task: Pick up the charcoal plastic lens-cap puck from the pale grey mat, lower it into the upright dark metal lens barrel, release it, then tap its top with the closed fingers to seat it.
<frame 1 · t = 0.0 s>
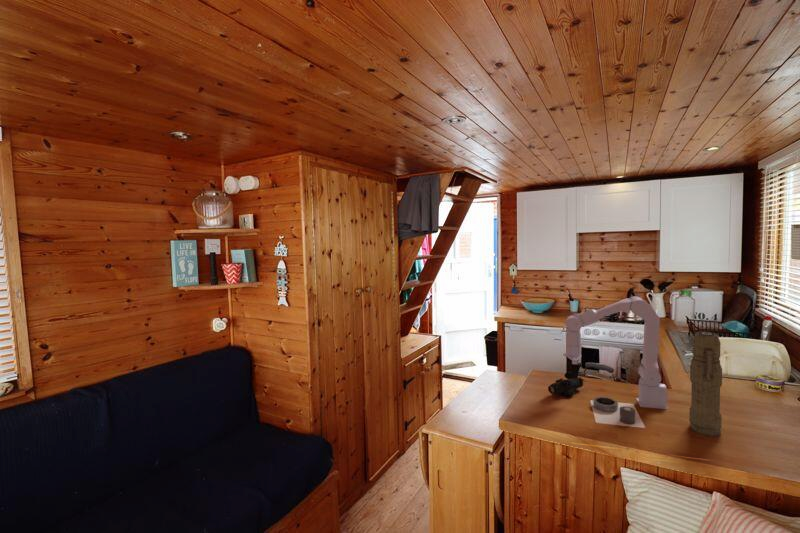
hand: (573, 375, 167), 10 cm above the counter, fingers open, 7 cm apart
cap: (627, 421, 145), resting on mat
mat: (615, 413, 152), on the counter
barrel: (605, 407, 157), resting on mat
thermos: (704, 430, 137), on the counter
night vision scope: (566, 394, 172), on the counter
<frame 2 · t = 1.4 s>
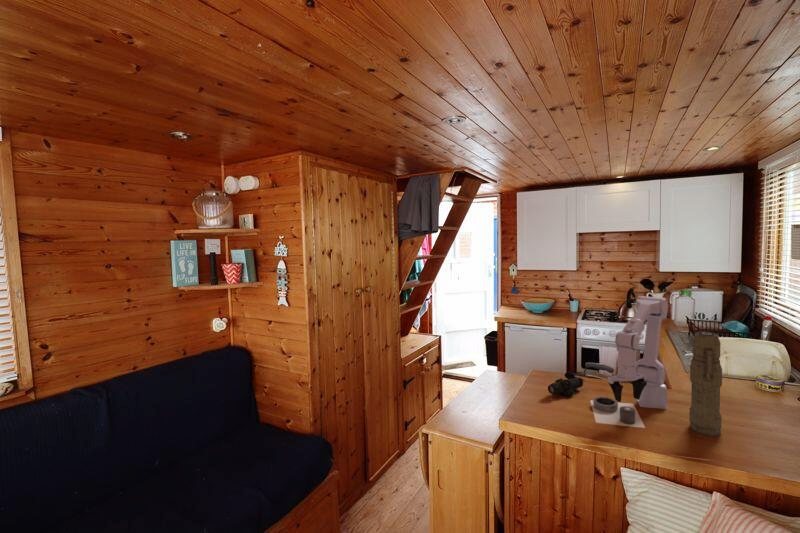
hand: (627, 399, 145), 9 cm above the counter, fingers open, 7 cm apart
nothing on the counter moved.
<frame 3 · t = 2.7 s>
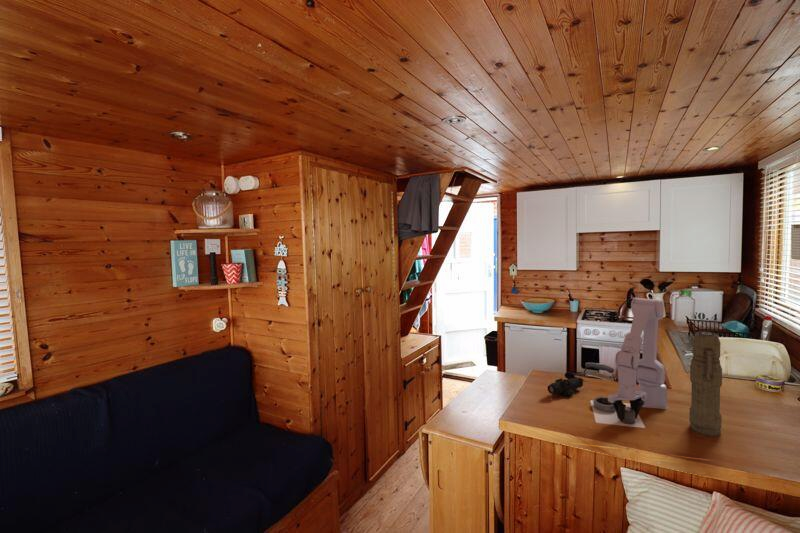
hand: (627, 418, 145), 1 cm above the counter, fingers closed on cap, 5 cm apart
cap: (627, 421, 145), resting on mat, touching gripper
everything else where it was.
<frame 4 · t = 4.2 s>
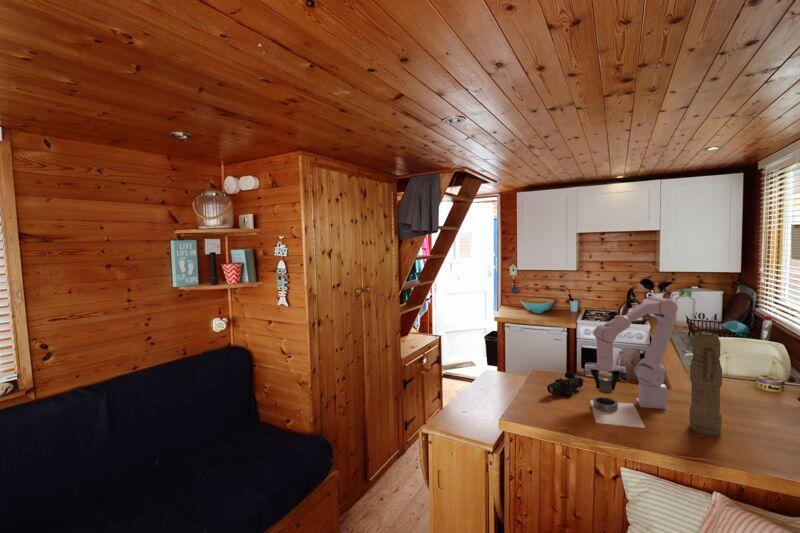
hand: (605, 388, 156), 8 cm above the counter, fingers closed on cap, 5 cm apart
cap: (605, 391, 156), point 7 cm above the counter, touching gripper
everything else where it was.
when the fingers open (3 cm above the counter, at t = 5.8 s): cap drops 1 cm, resting on barrel.
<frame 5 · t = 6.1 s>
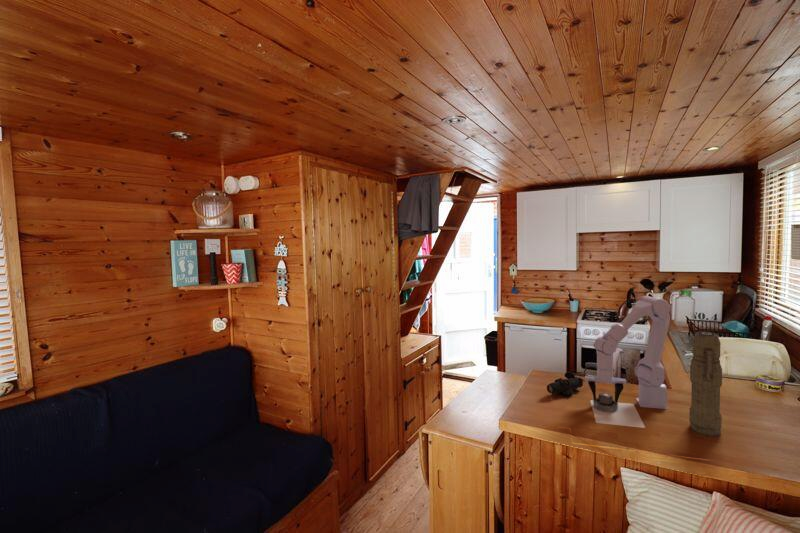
hand: (605, 400, 157), 3 cm above the counter, fingers open, 7 cm apart
cap: (605, 406, 157), point 1 cm above the counter, touching barrel
everything else where it was.
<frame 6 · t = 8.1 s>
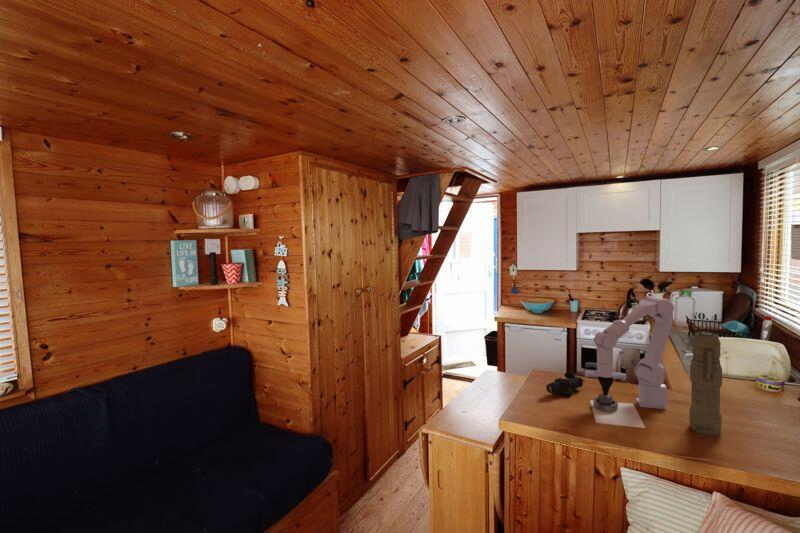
hand: (605, 395, 156), 6 cm above the counter, fingers closed, pressing on cap
cap: (605, 406, 157), point 1 cm above the counter, touching barrel, gripper
everything else where it was.
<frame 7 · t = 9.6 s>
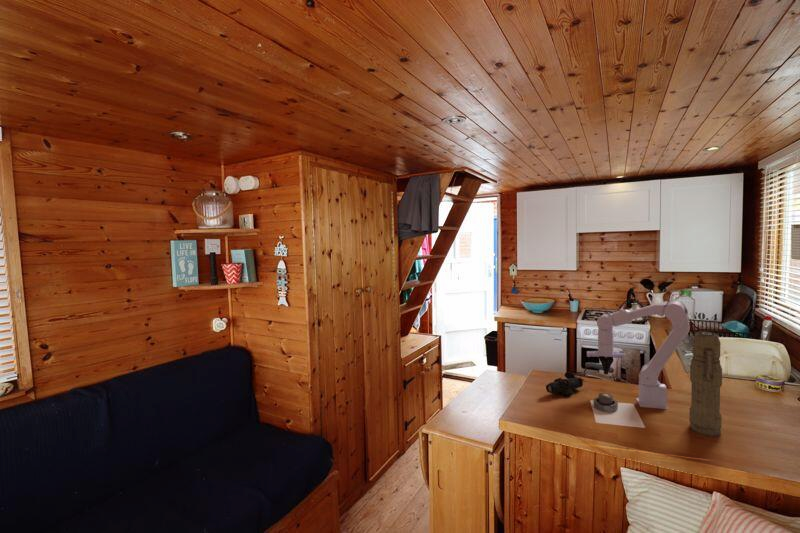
hand: (605, 373, 167), 10 cm above the counter, fingers closed
cap: (605, 406, 157), point 1 cm above the counter, touching barrel
everything else where it was.
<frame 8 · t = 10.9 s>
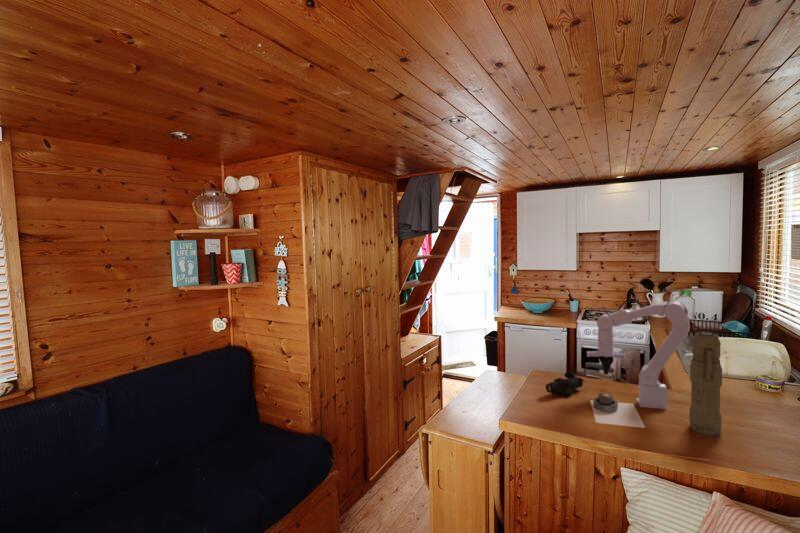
hand: (605, 373, 167), 10 cm above the counter, fingers closed
nothing on the counter moved.
at the end: cap 0.2 cm off-centre on the barrel, point 0.6 cm above the barrel's base; cap tilted 0°; the gripper is holding nothing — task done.
